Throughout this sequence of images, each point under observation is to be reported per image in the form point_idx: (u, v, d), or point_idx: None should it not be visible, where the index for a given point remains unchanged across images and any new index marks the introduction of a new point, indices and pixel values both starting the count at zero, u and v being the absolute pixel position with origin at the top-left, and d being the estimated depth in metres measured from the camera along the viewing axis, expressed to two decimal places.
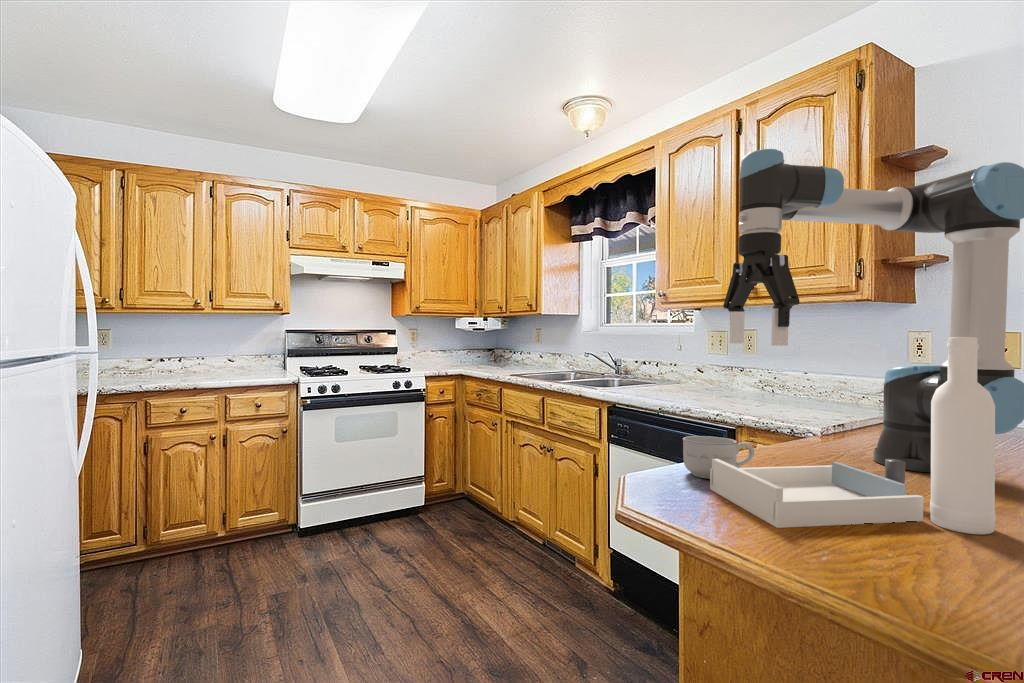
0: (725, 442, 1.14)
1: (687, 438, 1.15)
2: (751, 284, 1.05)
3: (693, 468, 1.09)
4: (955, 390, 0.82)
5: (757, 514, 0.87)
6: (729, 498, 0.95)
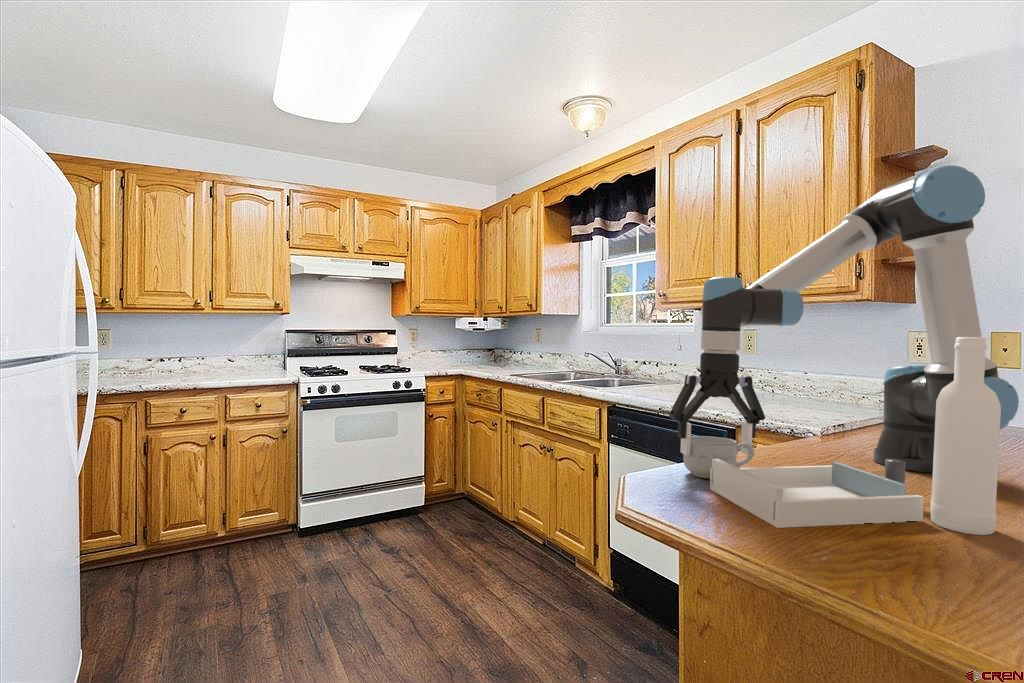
0: (726, 442, 1.14)
1: None
2: (732, 397, 1.10)
3: (693, 467, 1.09)
4: (961, 391, 0.82)
5: (757, 514, 0.87)
6: (729, 498, 0.95)
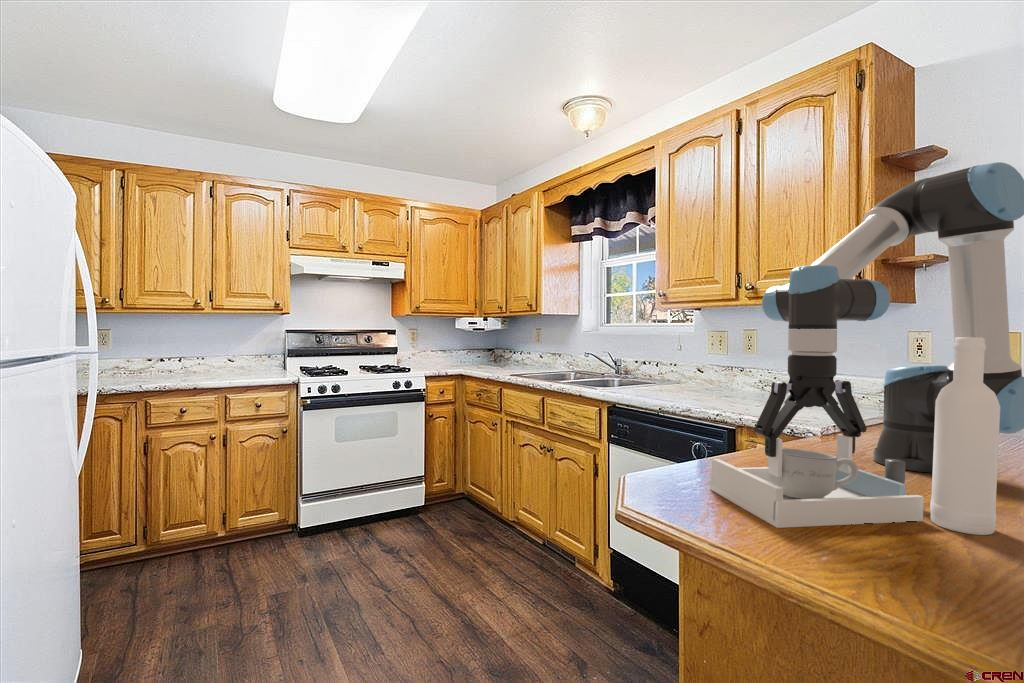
0: (819, 457, 0.97)
1: None
2: (828, 407, 0.94)
3: (783, 485, 0.92)
4: (961, 391, 0.82)
5: (757, 514, 0.87)
6: (729, 498, 0.95)
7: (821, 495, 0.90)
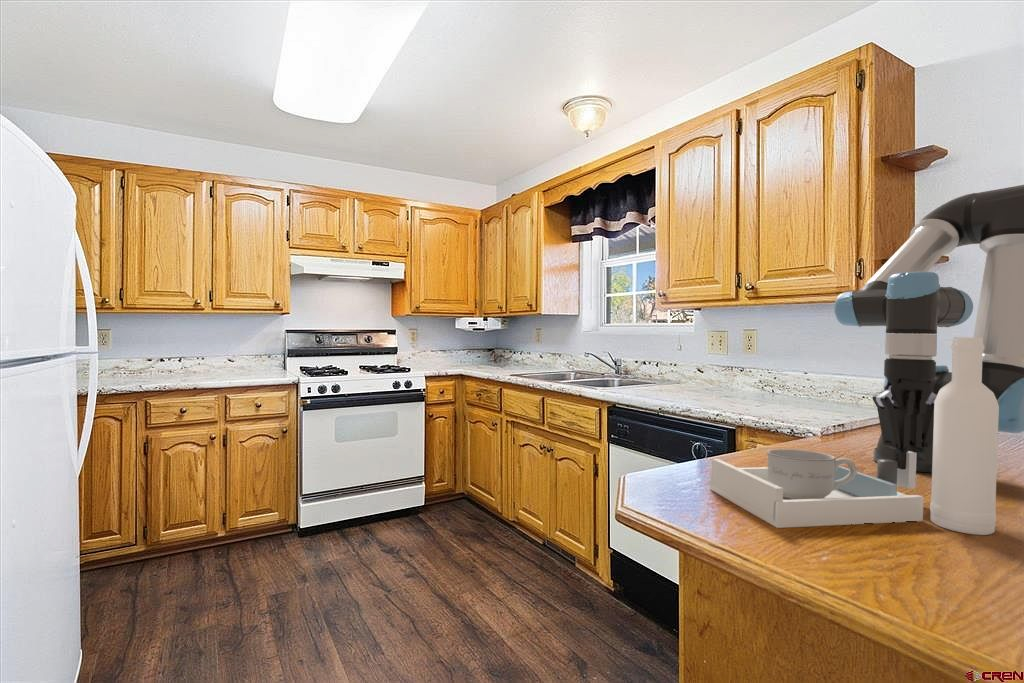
0: (818, 457, 0.97)
1: (771, 452, 0.98)
2: (913, 411, 0.96)
3: (783, 487, 0.92)
4: (959, 391, 0.82)
5: (757, 514, 0.87)
6: (729, 498, 0.95)
7: (821, 496, 0.90)
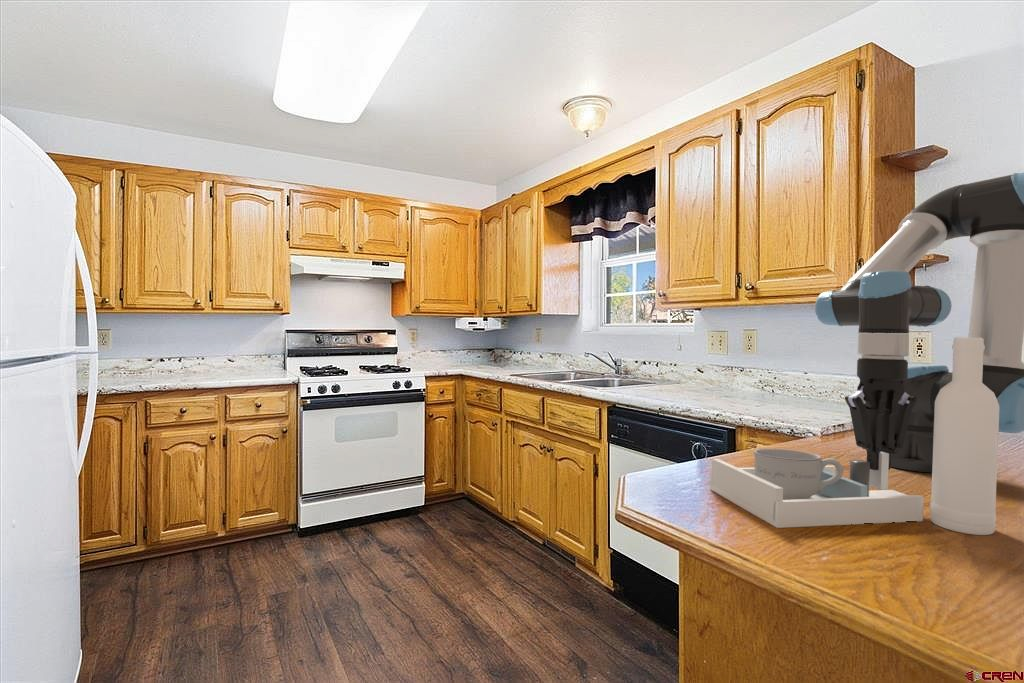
0: (807, 457, 0.97)
1: (759, 451, 0.99)
2: (886, 412, 0.95)
3: None
4: (960, 391, 0.82)
5: (757, 514, 0.87)
6: (729, 498, 0.95)
7: (805, 496, 0.90)
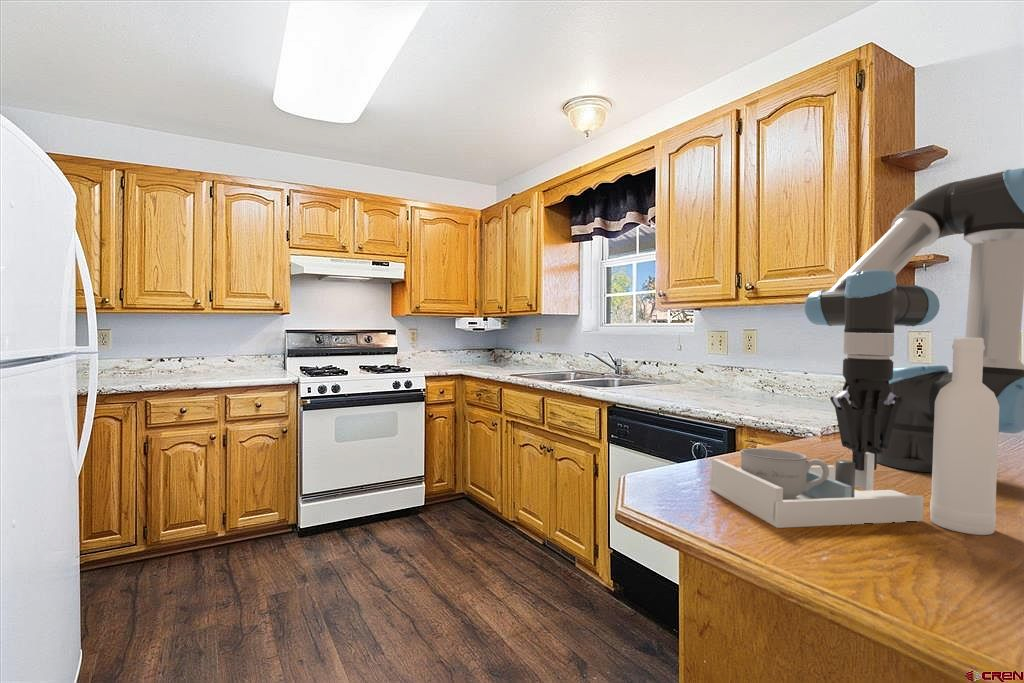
0: (796, 458, 0.96)
1: (748, 450, 0.99)
2: (871, 412, 0.95)
3: None
4: (960, 391, 0.82)
5: (757, 514, 0.87)
6: (729, 498, 0.95)
7: (787, 496, 0.90)
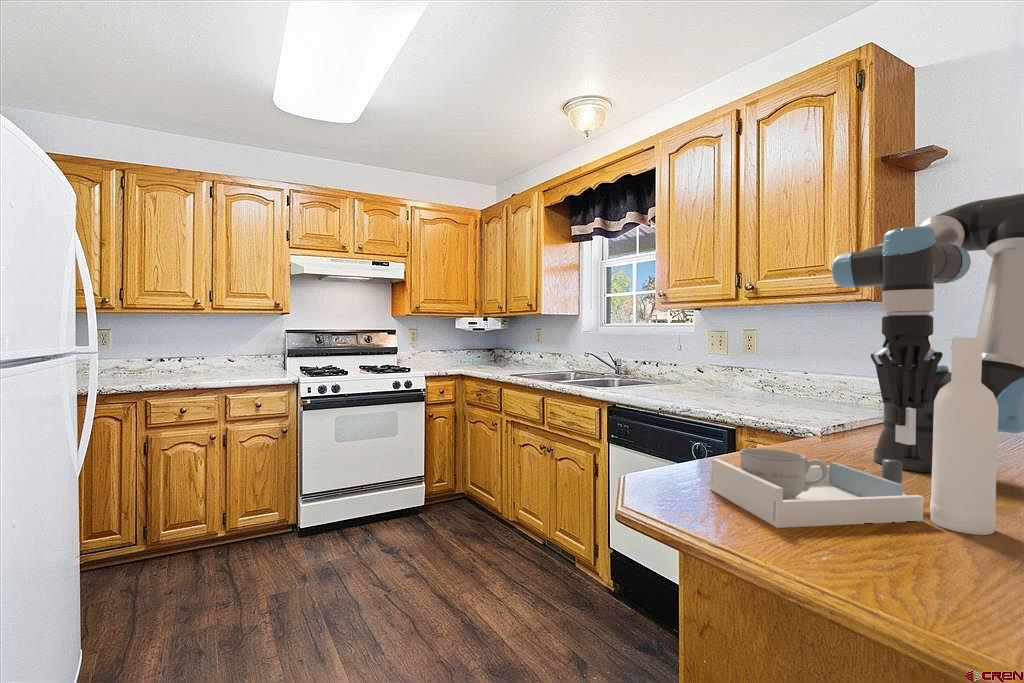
0: (795, 458, 0.96)
1: (748, 450, 0.99)
2: (912, 368, 0.96)
3: None
4: (959, 391, 0.82)
5: (757, 514, 0.87)
6: (729, 498, 0.95)
7: (786, 496, 0.90)
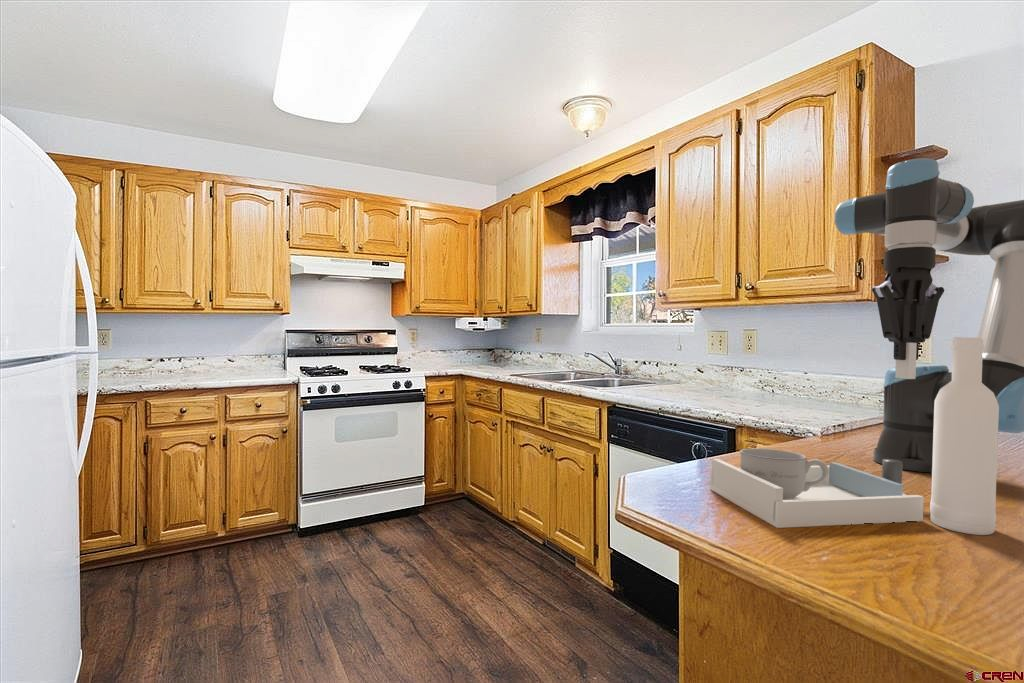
0: (795, 458, 0.96)
1: (748, 450, 0.99)
2: (913, 302, 0.96)
3: None
4: (959, 391, 0.82)
5: (757, 514, 0.87)
6: (729, 498, 0.95)
7: (786, 496, 0.90)
